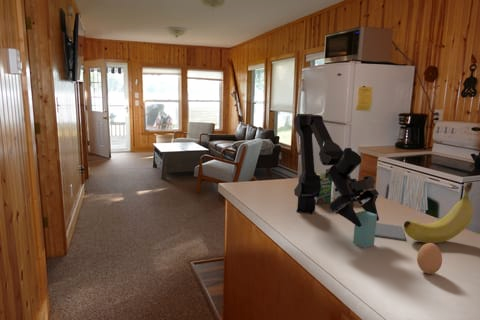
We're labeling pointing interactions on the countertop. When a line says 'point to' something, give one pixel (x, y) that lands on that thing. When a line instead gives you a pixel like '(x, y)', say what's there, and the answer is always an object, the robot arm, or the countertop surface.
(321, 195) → the coffee box
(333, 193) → the supplement box
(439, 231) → the banana
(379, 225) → the slate mat
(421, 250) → the egg
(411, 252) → the countertop surface
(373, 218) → the teal block
